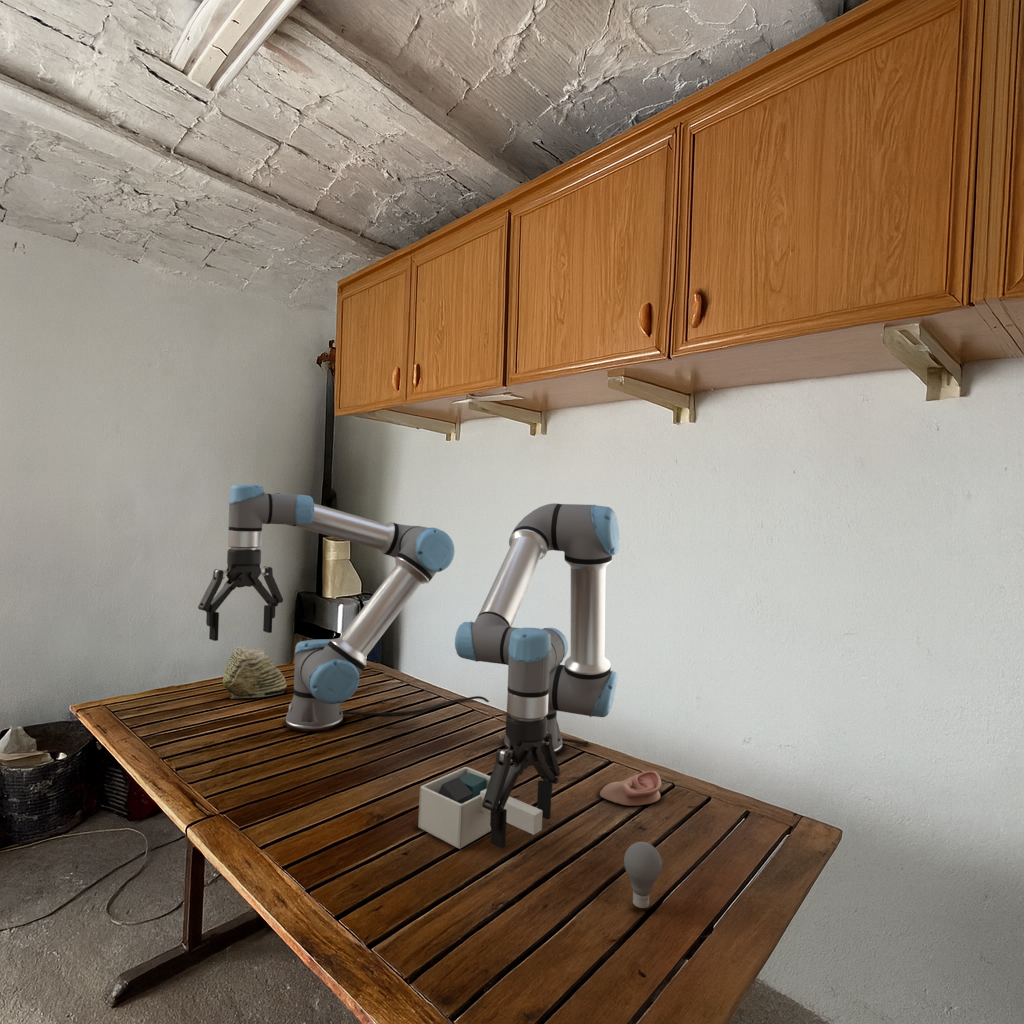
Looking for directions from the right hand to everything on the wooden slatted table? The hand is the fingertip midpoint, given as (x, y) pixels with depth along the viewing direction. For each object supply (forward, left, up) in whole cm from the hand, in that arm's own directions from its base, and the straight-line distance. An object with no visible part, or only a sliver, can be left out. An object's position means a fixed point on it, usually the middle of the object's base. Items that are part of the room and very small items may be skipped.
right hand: (521, 830), depth 116 cm
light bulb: (-11, +21, -4) cm, 24 cm away
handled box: (+3, -7, -4) cm, 9 cm away
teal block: (+3, -16, -4) cm, 17 cm away
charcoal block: (+9, -15, -3) cm, 18 cm away
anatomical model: (-34, -11, -4) cm, 35 cm away
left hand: (+43, -65, +24) cm, 82 cm away
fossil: (+35, -111, -4) cm, 116 cm away
